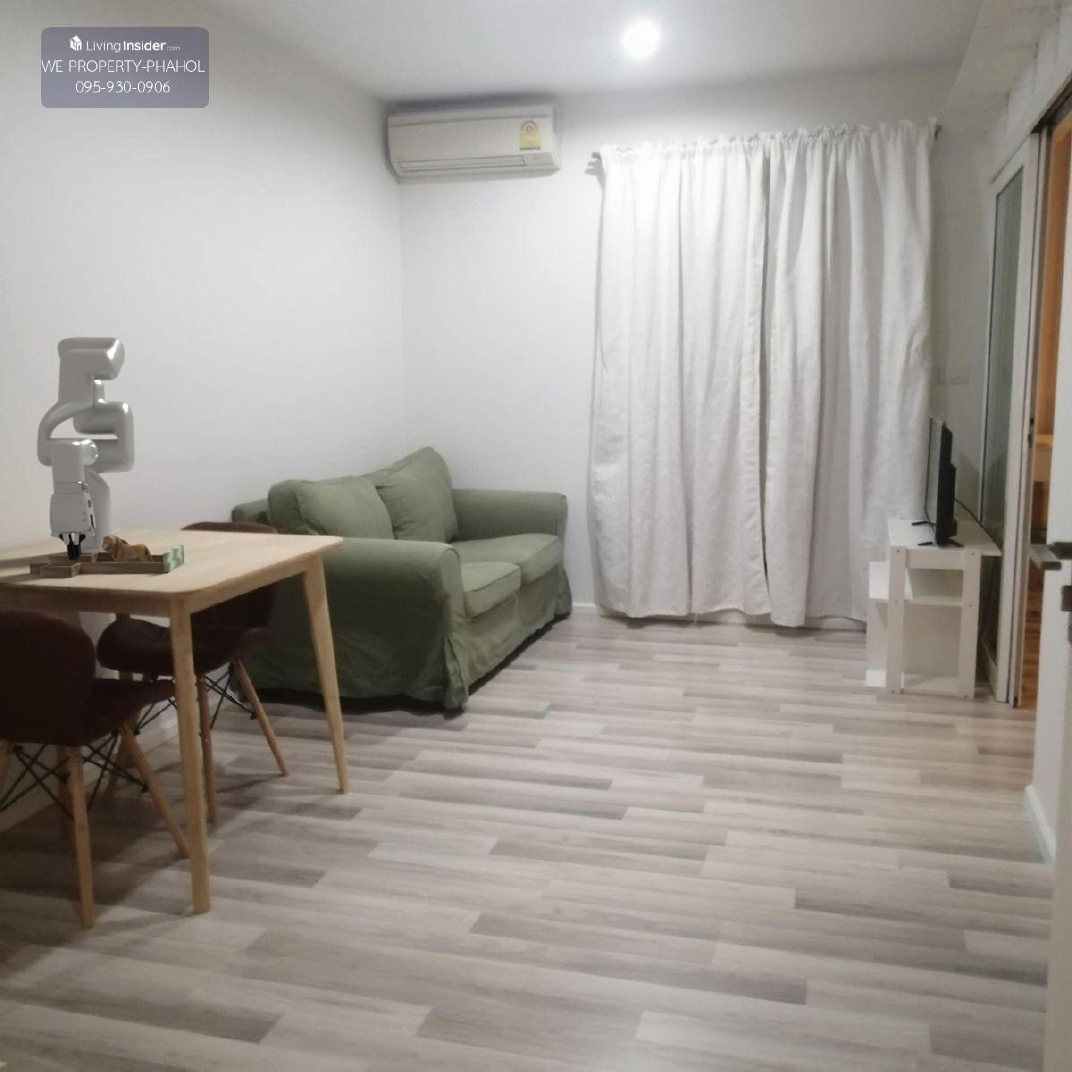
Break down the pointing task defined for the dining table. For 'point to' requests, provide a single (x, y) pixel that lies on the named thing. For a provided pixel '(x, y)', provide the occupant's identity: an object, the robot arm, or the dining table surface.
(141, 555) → the lion figurine
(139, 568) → the wooden walled channel
